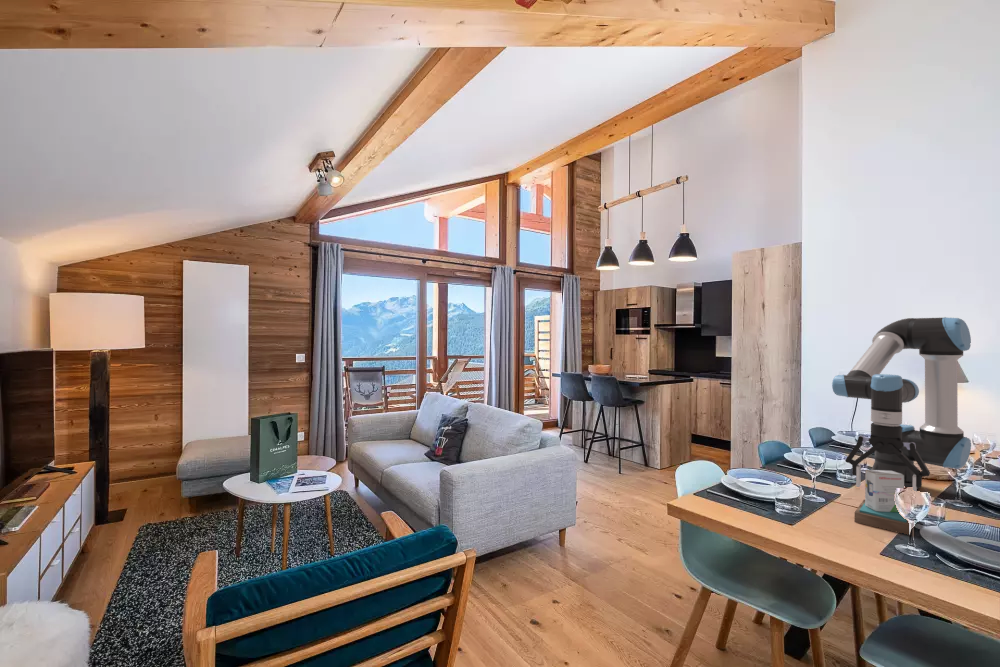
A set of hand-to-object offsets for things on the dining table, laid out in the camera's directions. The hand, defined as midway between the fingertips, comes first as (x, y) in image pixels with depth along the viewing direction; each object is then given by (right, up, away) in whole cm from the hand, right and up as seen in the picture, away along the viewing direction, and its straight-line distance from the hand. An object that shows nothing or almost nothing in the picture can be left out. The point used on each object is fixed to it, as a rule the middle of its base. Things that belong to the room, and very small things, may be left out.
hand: (885, 491), depth 145 cm
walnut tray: (0, -9, 0) cm, 9 cm away
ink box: (0, -6, 0) cm, 6 cm away
